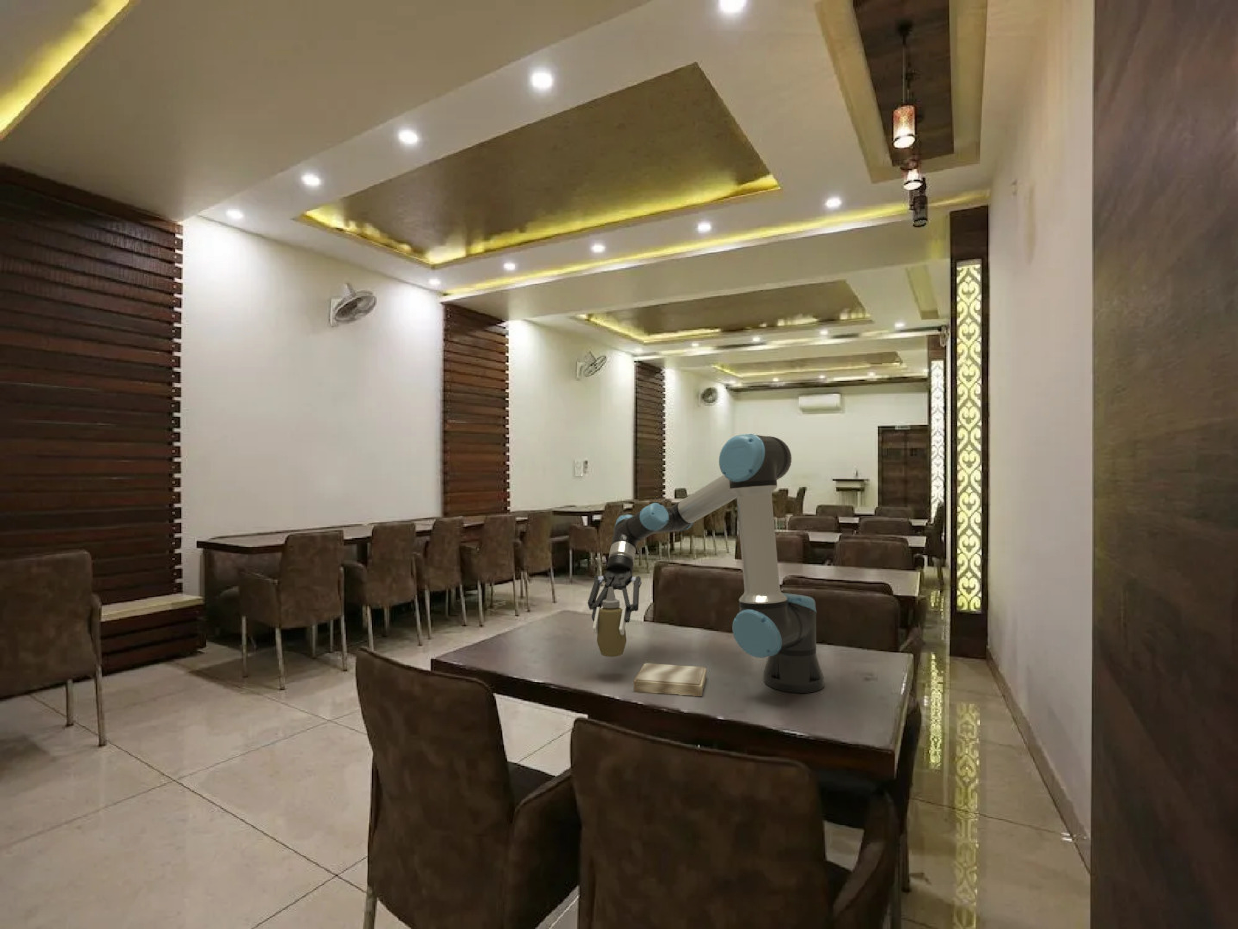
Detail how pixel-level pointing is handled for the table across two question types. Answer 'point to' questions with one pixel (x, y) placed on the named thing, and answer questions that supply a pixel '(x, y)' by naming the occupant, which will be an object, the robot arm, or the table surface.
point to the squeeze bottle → (610, 627)
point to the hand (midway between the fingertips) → (608, 631)
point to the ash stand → (670, 679)
